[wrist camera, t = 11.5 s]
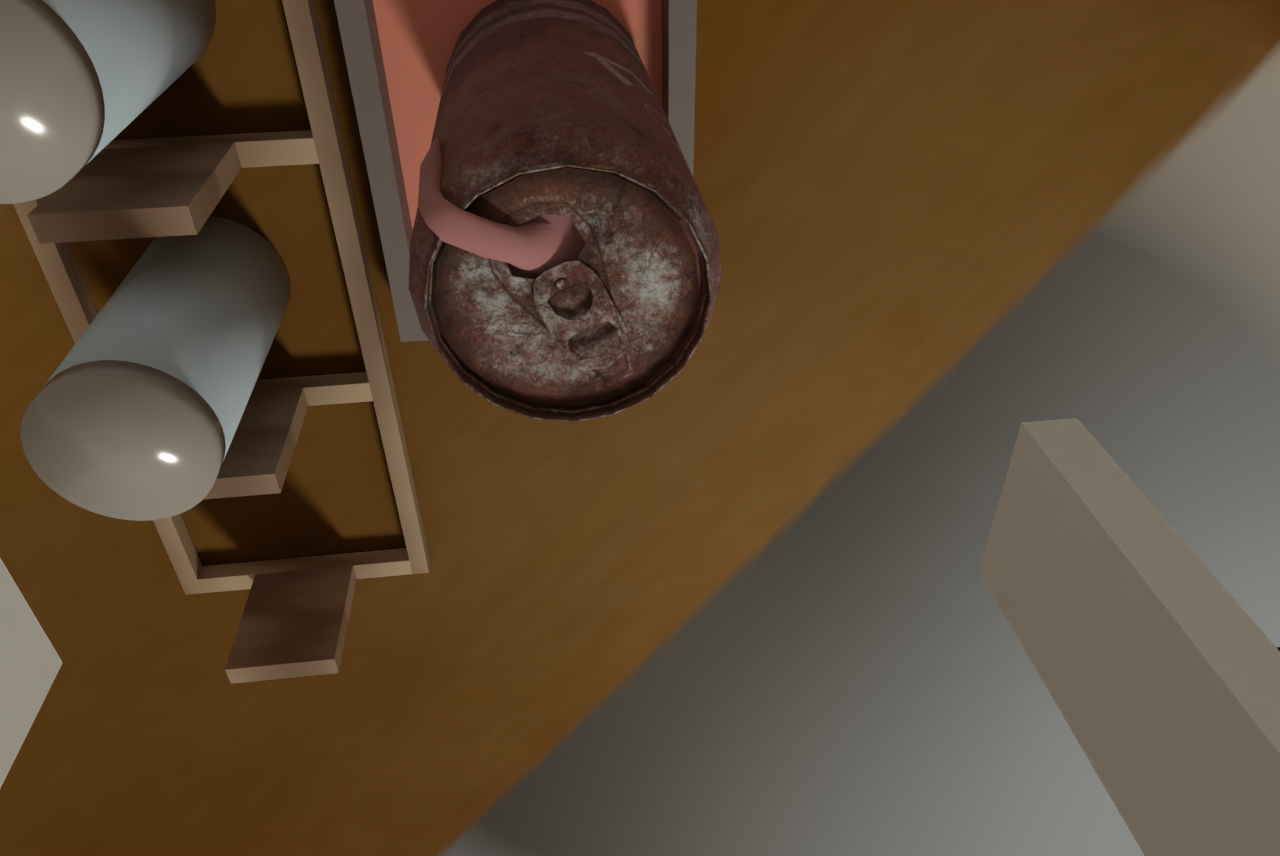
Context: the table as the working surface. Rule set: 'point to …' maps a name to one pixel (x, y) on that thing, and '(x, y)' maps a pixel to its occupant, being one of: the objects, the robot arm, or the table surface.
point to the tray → (412, 86)
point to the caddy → (270, 425)
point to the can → (559, 219)
